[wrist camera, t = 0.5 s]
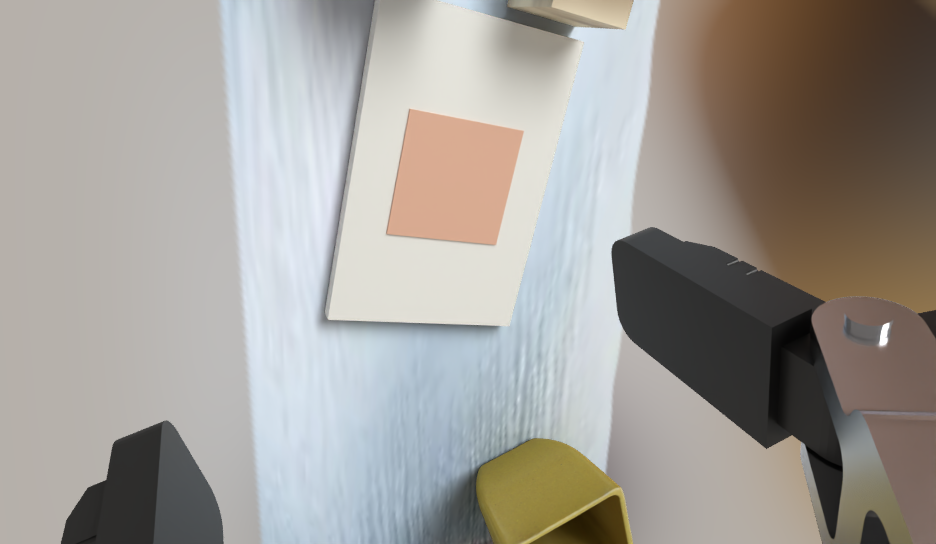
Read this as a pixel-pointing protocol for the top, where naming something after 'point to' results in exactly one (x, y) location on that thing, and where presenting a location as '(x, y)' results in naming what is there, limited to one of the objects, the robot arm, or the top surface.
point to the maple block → (579, 11)
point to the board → (447, 164)
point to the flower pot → (550, 498)
